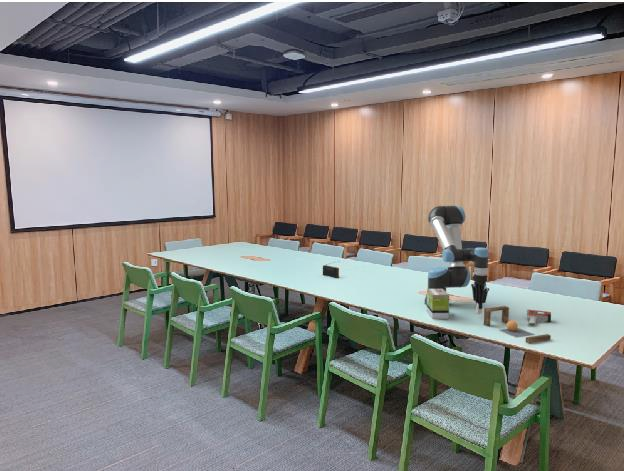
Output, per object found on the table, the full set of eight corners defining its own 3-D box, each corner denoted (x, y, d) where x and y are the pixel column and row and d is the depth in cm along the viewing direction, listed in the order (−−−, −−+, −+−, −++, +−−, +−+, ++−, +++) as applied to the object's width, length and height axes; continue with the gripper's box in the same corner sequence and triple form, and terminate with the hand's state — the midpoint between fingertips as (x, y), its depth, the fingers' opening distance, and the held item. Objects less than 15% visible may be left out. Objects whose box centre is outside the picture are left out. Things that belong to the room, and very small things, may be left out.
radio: (322, 275, 380) (322, 258, 378) (324, 275, 382) (325, 257, 380) (338, 278, 366) (338, 260, 364) (340, 278, 368) (340, 260, 366)
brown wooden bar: (525, 342, 220) (525, 337, 220) (547, 338, 225) (547, 334, 224) (528, 343, 218) (528, 338, 218) (550, 340, 223) (550, 335, 223)
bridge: (483, 324, 248) (484, 308, 246) (504, 321, 252) (505, 305, 251) (487, 326, 245) (488, 309, 244) (508, 323, 250) (509, 307, 248)
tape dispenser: (530, 330, 243) (561, 325, 247) (530, 321, 242) (562, 316, 246) (509, 319, 260) (539, 315, 264) (509, 311, 259) (539, 306, 263)
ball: (513, 330, 232) (506, 332, 237) (521, 329, 234) (514, 331, 239) (509, 320, 234) (503, 322, 239) (518, 319, 236) (511, 321, 241)
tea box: (425, 311, 273) (426, 288, 271) (442, 311, 272) (443, 288, 270) (431, 319, 258) (432, 294, 256) (449, 319, 257) (450, 294, 256)
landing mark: (499, 330, 238) (499, 329, 238) (516, 327, 242) (516, 327, 242) (516, 337, 227) (516, 337, 227) (534, 334, 231) (534, 334, 231)
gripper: (467, 272, 263) (466, 311, 266) (483, 277, 251) (481, 317, 254) (478, 271, 266) (476, 310, 269) (493, 276, 254) (491, 316, 257)
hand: (478, 313), depth 261 cm, fingers closed
